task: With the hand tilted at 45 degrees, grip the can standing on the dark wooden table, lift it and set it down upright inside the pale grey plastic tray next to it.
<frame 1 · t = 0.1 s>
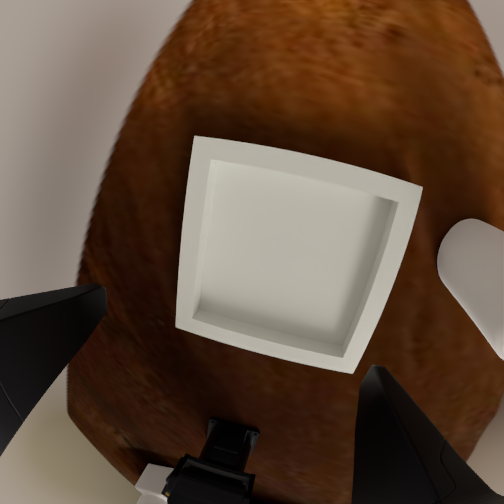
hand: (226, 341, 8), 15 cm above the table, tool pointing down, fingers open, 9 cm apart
can: (465, 254, 19), on the table
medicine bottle: (170, 473, 42), on the table
tray: (288, 256, 22), on the table
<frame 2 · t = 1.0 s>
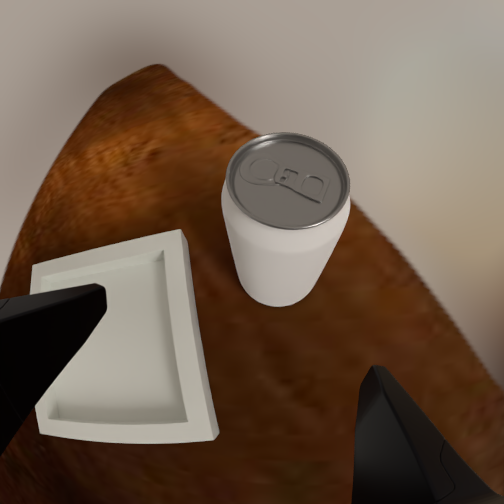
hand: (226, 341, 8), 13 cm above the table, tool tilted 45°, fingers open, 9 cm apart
can: (277, 270, 23), on the table
tray: (110, 345, 21), on the table
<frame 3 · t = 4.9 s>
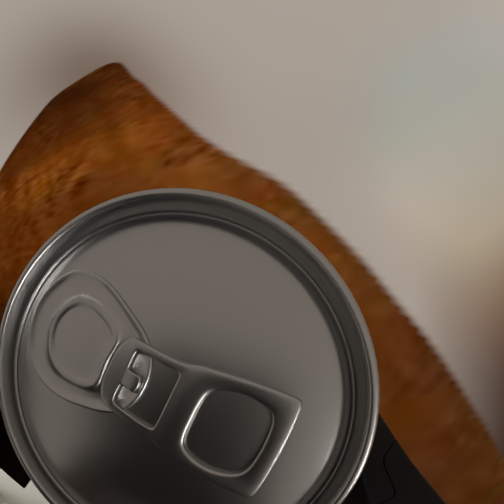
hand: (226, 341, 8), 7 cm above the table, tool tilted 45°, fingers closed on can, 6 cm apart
can: (233, 380, 14), on the table, touching gripper
tray: (34, 444, 11), on the table
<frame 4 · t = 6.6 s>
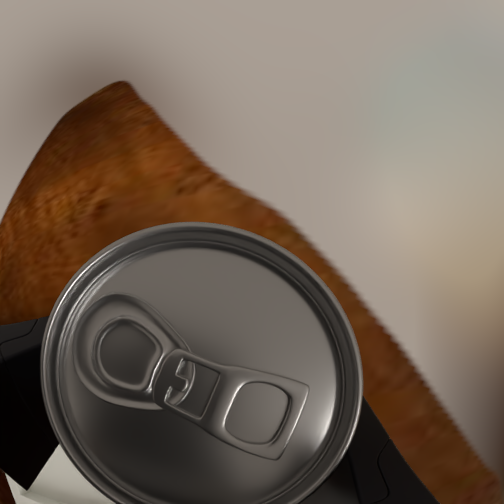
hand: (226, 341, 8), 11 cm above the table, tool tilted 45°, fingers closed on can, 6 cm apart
can: (215, 365, 15), point 3 cm above the table, touching gripper
tray: (66, 437, 15), on the table
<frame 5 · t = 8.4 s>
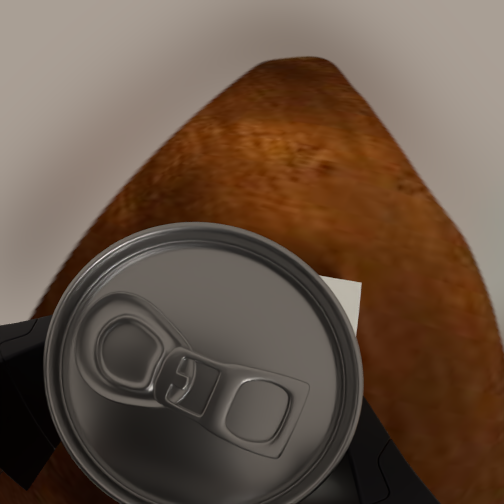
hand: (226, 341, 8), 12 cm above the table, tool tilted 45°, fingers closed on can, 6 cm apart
can: (220, 366, 15), point 4 cm above the table, touching gripper
tray: (226, 377, 19), on the table
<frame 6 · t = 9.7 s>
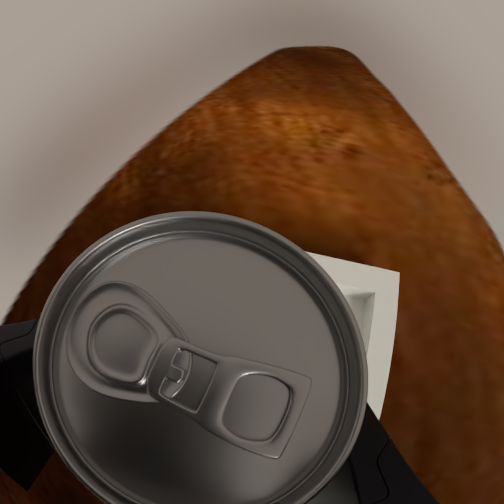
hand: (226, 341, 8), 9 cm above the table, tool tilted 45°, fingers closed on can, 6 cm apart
can: (218, 374, 15), point 1 cm above the table, touching gripper, tray
tray: (236, 383, 15), on the table
when the fingers open (9 cm above the table, at t = 10.5 s): can stays where it is, resting on tray.
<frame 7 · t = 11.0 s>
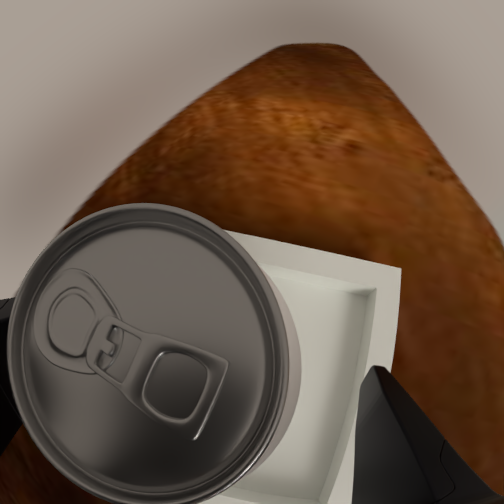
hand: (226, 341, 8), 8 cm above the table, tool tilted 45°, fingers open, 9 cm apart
can: (218, 372, 15), point 1 cm above the table, touching tray
tray: (236, 380, 15), on the table
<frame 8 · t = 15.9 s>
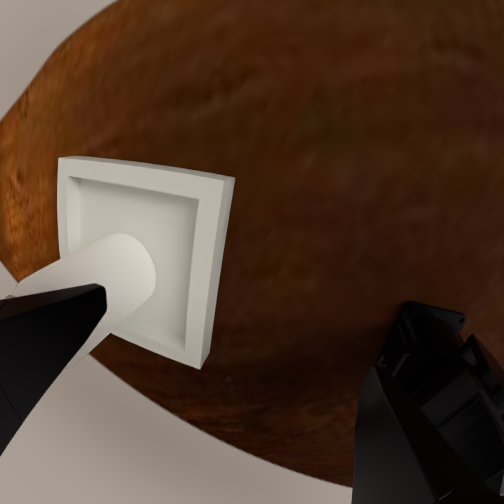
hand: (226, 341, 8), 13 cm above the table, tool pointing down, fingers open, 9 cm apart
can: (129, 266, 24), point 1 cm above the table, touching tray
tray: (135, 253, 24), on the table
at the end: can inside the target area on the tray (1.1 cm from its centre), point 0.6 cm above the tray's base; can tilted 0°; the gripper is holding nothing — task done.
